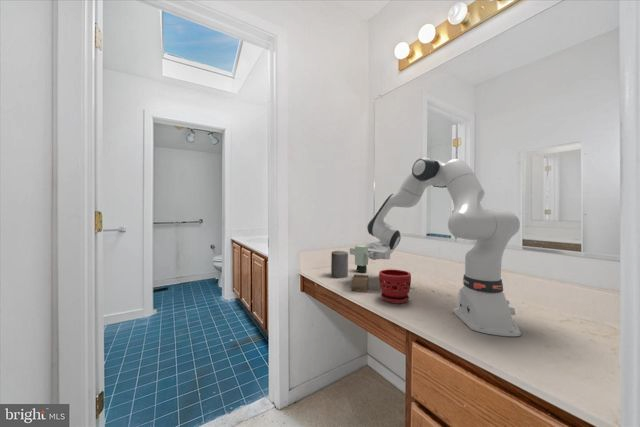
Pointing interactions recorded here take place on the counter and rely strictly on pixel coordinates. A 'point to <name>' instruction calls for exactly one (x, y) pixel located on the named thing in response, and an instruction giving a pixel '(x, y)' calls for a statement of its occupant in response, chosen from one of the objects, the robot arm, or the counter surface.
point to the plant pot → (395, 285)
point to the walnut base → (360, 283)
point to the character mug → (361, 268)
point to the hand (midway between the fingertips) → (360, 254)
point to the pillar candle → (339, 264)
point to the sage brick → (361, 255)
